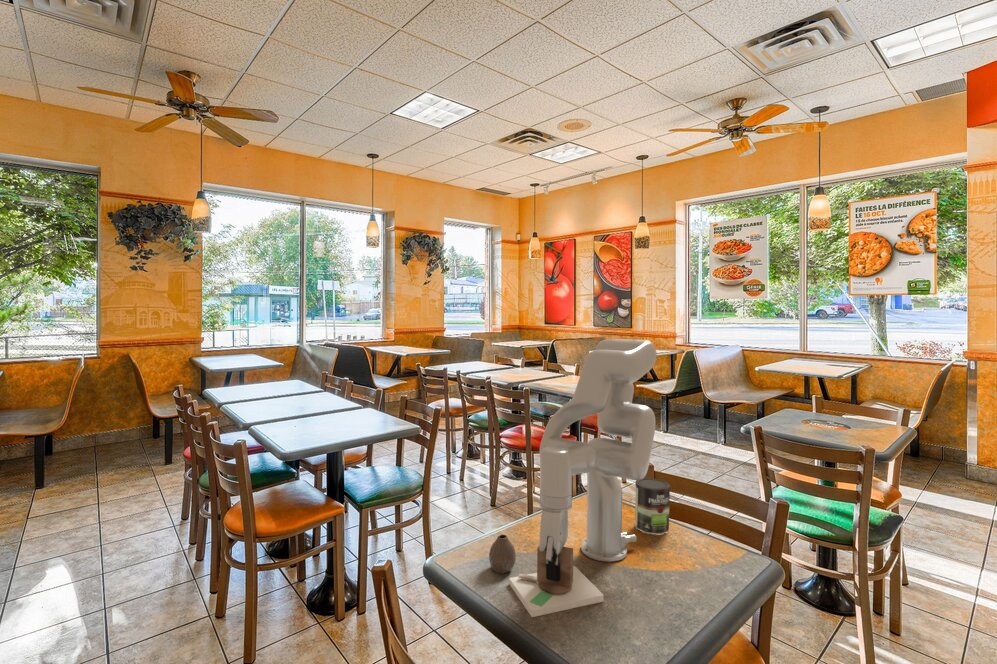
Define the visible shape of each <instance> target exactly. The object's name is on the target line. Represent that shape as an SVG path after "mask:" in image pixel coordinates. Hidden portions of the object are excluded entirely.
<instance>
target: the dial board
mask: <svg viewBox="0 0 997 664" xmlns="http://www.w3.org/2000/svg"><path fill="white" fill-rule="evenodd" d="M527 575H529V576H534V577H537V572H534V573H529V574H527ZM518 576H519V575H517V576H514V577H508V578H509V579H508V580H509V581H508V585H509V586H510V588H511V589H512V590H513V592H514V594H516V596H517V598H518V599H519V601H520V602H521V603H522V605H523V606H524V608H525V610H526V611H527V612H528V614H529V616H530V617H531V618H534V617H535V618H536V617H539V616H544V615H545V616H546V615H548V614H549V615H550V614H554V613H559V612H562V611H567V610H571V609H574V608H575V609H576V608H580V607H585V606H589V605H594V604H600V603H604V602H605V601H604V597H605V595H604V594H603V593H602V592H601V591H600V590H599V588H598V587H596V586H595V585H594V583H592V581H590V580H589V578H587V577H586V576H585V575H584V574H583V572H581V571H580V570H579V568H578V567H576V565H573V583H572V588H571V590H570V591H568V592H567V593H564V594H550V593H547V592H545V591H543V590H541V589H540V588H539V586H538V582H535V581H530V580H526V579H521V578H518Z"/></svg>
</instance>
